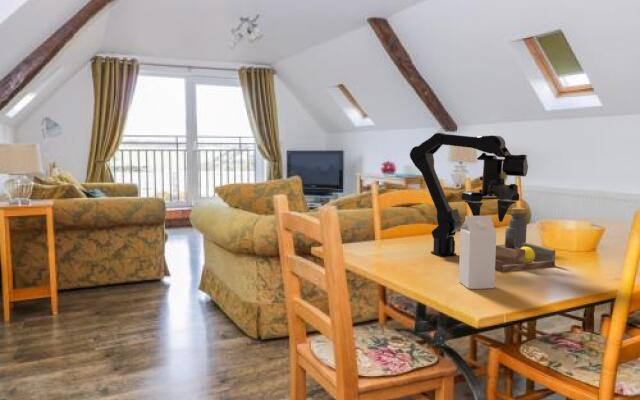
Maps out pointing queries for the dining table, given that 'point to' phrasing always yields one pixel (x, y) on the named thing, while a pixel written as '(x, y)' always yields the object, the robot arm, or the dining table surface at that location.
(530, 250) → the lemon
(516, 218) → the bottle
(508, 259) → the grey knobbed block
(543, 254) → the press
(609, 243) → the dining table surface
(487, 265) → the milk carton
